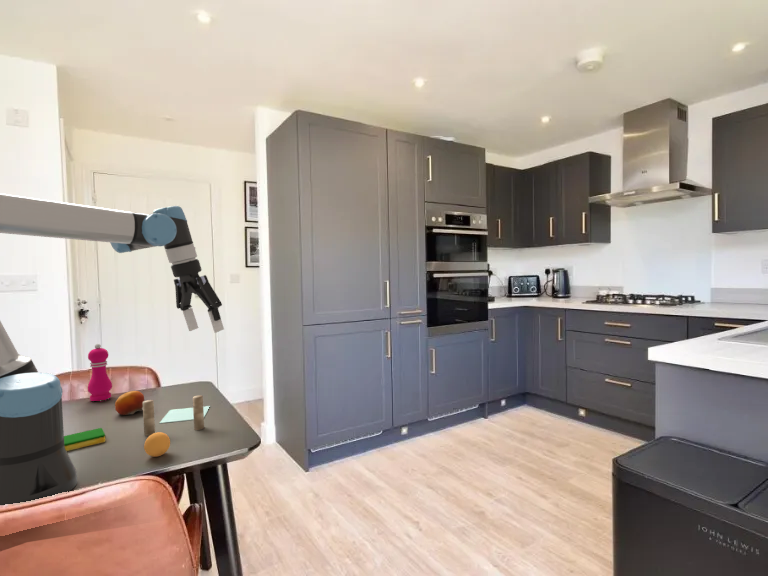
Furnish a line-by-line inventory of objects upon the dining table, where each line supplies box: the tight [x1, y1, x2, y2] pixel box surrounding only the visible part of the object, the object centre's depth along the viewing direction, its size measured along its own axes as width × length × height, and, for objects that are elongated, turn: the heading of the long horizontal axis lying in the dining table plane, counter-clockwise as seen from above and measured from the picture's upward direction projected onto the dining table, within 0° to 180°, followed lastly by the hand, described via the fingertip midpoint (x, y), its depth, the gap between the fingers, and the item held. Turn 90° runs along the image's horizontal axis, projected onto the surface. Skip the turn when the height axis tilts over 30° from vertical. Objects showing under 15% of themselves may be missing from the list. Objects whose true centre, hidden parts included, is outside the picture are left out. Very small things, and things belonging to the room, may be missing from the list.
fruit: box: [114, 390, 145, 416], centre depth 131 cm, size 8×8×8 cm
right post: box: [192, 394, 205, 431], centre depth 115 cm, size 3×3×9 cm
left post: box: [142, 399, 156, 437], centre depth 112 cm, size 3×3×9 cm
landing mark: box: [159, 405, 211, 424], centre depth 128 cm, size 12×12×1 cm
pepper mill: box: [87, 343, 113, 402], centre depth 146 cm, size 7×7×20 cm
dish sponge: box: [64, 427, 106, 452], centre depth 106 cm, size 7×14×2 cm, turn 131°
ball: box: [143, 431, 171, 458], centre depth 98 cm, size 6×6×6 cm
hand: (206, 330), depth 122 cm, fingers open, 13 cm apart
